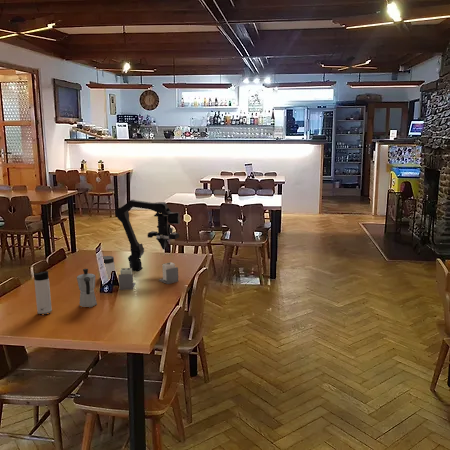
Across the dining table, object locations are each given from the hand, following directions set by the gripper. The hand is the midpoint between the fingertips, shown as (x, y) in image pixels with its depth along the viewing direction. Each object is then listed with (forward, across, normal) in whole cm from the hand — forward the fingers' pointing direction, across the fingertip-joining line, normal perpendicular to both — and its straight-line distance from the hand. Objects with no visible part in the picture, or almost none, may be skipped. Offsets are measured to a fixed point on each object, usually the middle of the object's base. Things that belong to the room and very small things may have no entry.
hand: (163, 249), depth 285 cm
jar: (+13, +24, +24) cm, 36 cm away
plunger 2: (+12, -13, +19) cm, 26 cm away
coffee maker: (+13, +6, +65) cm, 67 cm away
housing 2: (+13, -13, +18) cm, 26 cm away
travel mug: (+13, +19, +80) cm, 83 cm away
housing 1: (+13, +4, +35) cm, 37 cm away
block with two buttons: (+12, +3, +35) cm, 37 cm away
